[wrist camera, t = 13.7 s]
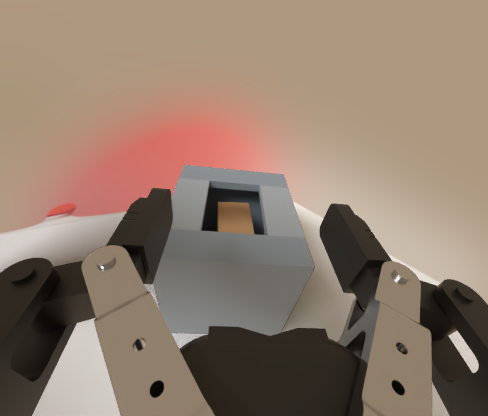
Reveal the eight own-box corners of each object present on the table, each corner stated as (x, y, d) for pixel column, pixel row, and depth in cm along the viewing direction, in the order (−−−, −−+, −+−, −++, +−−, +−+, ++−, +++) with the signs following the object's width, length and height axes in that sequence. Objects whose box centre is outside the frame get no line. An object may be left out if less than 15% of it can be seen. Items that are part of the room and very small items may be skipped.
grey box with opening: (279, 335, 28) (314, 267, 19) (164, 332, 26) (147, 257, 18) (265, 241, 40) (283, 174, 32) (187, 236, 39) (184, 164, 30)
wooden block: (241, 295, 31) (254, 236, 24) (213, 296, 31) (217, 235, 23) (238, 261, 36) (248, 203, 29) (213, 261, 35) (217, 201, 28)
